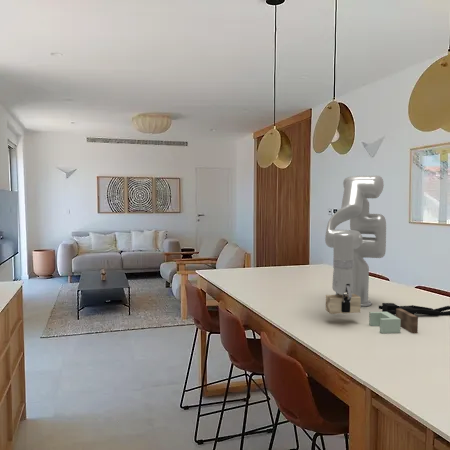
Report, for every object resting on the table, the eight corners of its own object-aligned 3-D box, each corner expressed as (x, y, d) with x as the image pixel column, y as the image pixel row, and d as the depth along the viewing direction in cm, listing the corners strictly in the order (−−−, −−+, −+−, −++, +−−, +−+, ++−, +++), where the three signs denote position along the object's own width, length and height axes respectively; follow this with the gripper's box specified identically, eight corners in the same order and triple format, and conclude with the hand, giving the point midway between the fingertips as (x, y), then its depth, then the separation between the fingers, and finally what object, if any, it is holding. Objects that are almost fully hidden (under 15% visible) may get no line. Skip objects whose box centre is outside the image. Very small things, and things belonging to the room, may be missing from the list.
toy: (444, 314, 187) (378, 312, 185) (445, 303, 186) (378, 301, 185) (457, 320, 177) (387, 318, 176) (458, 309, 177) (388, 307, 175)
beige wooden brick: (325, 309, 169) (325, 295, 168) (354, 308, 170) (355, 293, 169) (330, 313, 163) (330, 298, 163) (360, 312, 164) (360, 297, 164)
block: (369, 324, 163) (369, 312, 163) (386, 324, 163) (386, 311, 163) (381, 333, 152) (381, 319, 152) (400, 332, 153) (400, 319, 153)
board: (324, 323, 168) (324, 306, 168) (394, 321, 171) (395, 304, 170) (343, 339, 148) (343, 320, 148) (422, 337, 151) (422, 318, 151)
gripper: (326, 260, 173) (326, 304, 175) (342, 268, 156) (341, 316, 158) (344, 260, 174) (343, 303, 175) (361, 268, 157) (361, 316, 158)
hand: (342, 309), depth 166 cm, fingers closed on beige wooden brick, 5 cm apart
